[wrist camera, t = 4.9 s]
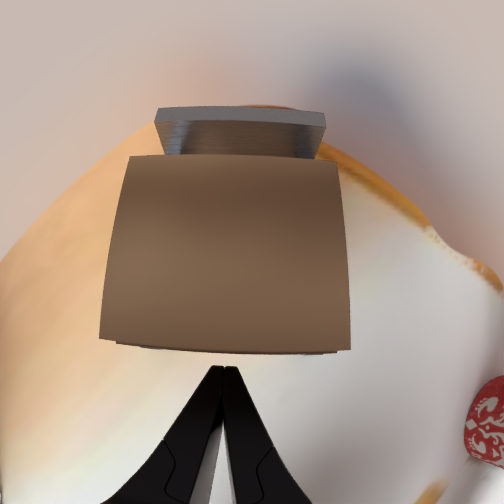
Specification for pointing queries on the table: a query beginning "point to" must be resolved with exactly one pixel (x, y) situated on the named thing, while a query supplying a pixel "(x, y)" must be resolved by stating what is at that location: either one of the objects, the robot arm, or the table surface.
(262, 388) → the table surface
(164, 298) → the chest
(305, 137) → the bay
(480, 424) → the mug
